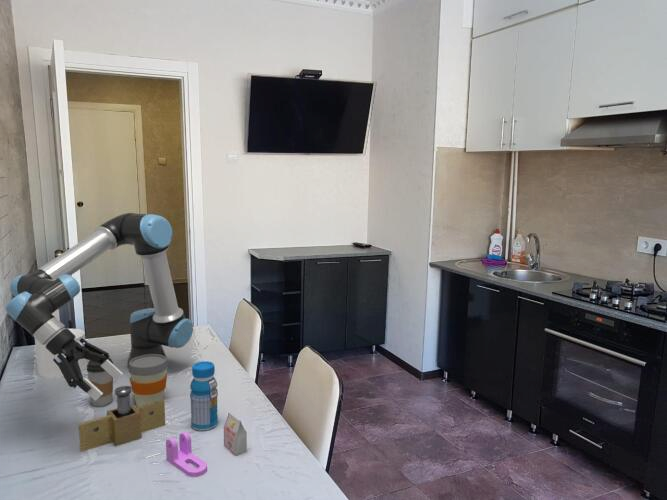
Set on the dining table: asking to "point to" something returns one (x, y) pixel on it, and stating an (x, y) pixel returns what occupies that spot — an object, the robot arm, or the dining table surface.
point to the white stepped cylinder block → (45, 357)
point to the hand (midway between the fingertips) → (110, 386)
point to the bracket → (184, 456)
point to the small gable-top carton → (235, 435)
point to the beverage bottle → (203, 396)
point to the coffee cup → (101, 383)
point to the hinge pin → (123, 400)
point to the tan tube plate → (121, 426)
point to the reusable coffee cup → (148, 378)
